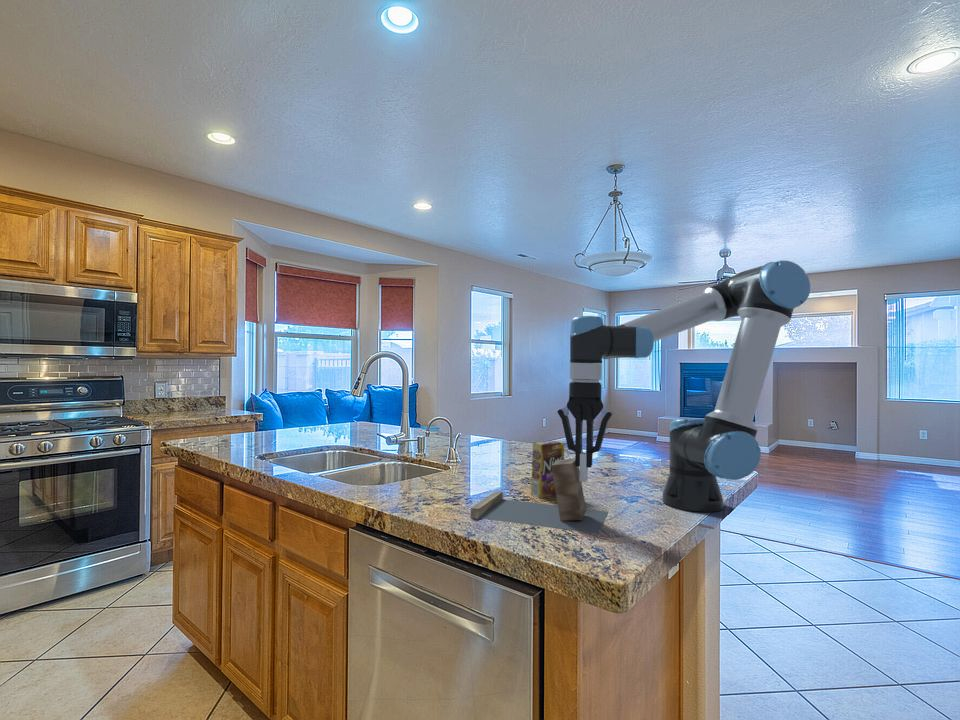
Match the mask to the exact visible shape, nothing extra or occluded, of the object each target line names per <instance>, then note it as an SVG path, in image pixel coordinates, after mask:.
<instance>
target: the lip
mask: <svg viewBox="0 0 960 720" xmlns="http://www.w3.org/2000/svg"><path fill="white" fill-rule="evenodd" d="M502 499H504V491H502V490H495V491H493V492H492V493H491V494H489V495H487V496H486V497H485V498H483V499H482V500H481V501H479V502H477V503H476V504H474V505H473V506H471V507H470V519H474V520H475V519H476V520H479V519H478V517H480V516H481V515H482V514H484V513H485V512H486V511H488V510H489V509H490V508H492V507H493V506H494V505H495V504H497V503H498V502H499V501H501V500H502Z"/></svg>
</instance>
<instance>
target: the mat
mask: <svg viewBox="0 0 960 720" xmlns="http://www.w3.org/2000/svg"><path fill="white" fill-rule="evenodd" d="M608 513H609V511H606V510H599V509H591V508H590V509H589V508H586V513H585V515H584V516H583V518H582V520H567V521H560V516H559V510H558V504H557V505H556V504H555V505H554V504H548V503H540V502H533V501H532V502H530V501H525V500H524V501H523V500H516V499H515V500H513V499H506V498H503V499H502V500H501V501H499V502H498V503H497V504H495V505H494V506H493V507H492V508H490V509H489V510H488V511H486V512H485V513H484V514H482V515H481V516H480V517H478V519H477V520H482V519H486V520H494V521H501V522H509V523H514V524H521V525H522V524H523V525H529V526H537V527H542V528H543V527H545V528H552V529H558V530H567V531H572V532H573V531H575V532H581V533H589V534H593V535H594V534H595V535H598V534H599V533H600V532H601V529H602V527H603V525H604V523H605V520H606V518H607V515H608Z"/></svg>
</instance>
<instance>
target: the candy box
mask: <svg viewBox="0 0 960 720" xmlns="http://www.w3.org/2000/svg"><path fill="white" fill-rule="evenodd" d="M531 459H532V461H531V462H532V463H531V479H530V481H531V482H530V484H531V486H530V487H531V488H530V495H531V496H533V497H536V498H538V499H542V498H548V497H553V496H556V492H555V486H554V480H553V474H552V468H551V465H552V464H554V463H555V462H556V461H557V460H565V442H564V441H560V440H551V441H548V440H547V441H539V442H538V441H536V442H532V458H531Z"/></svg>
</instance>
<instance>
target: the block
mask: <svg viewBox="0 0 960 720" xmlns="http://www.w3.org/2000/svg"><path fill="white" fill-rule="evenodd" d="M551 468H552V474H553V480H554V486H555V492H556V495H555V496H556V503H557V506H558V510H559V516H560V521H567V520H582V518H583V516H584V515H585V513H586V509H587V508H586V507H587V506H586V502H585V501H586V500H585V496H584V489H583V482H580V481H579V477H580V467H579V466H576V465H575V458H568V459H564V460H557V461H556V462H555V463H554V464H552V465H551Z"/></svg>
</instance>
